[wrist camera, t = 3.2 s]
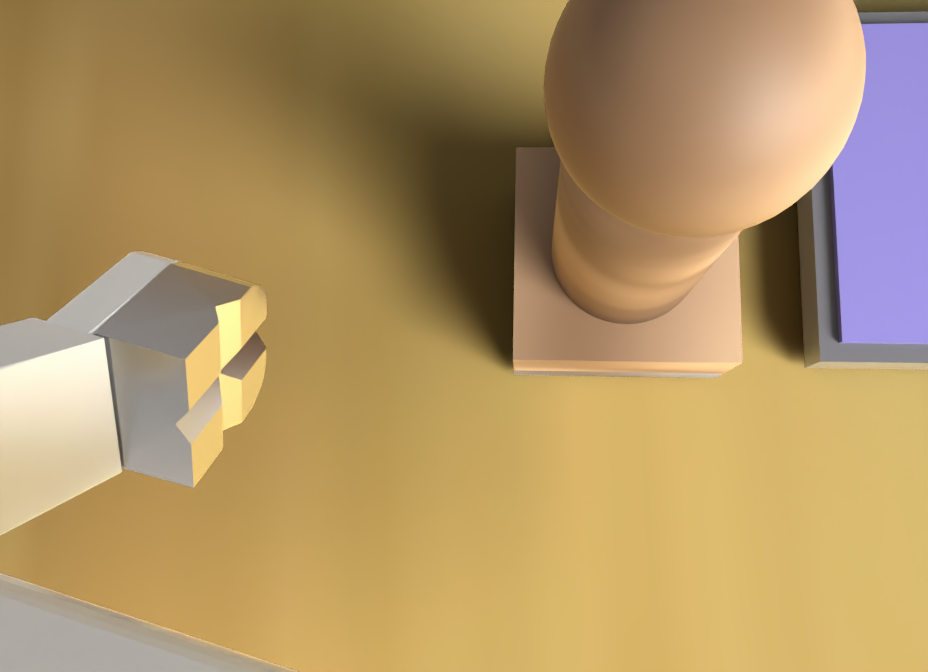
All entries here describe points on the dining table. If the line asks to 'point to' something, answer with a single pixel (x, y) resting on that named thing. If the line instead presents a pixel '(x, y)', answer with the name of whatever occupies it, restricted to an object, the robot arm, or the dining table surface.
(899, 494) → the dining table surface
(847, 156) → the ink pad
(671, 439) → the dining table surface
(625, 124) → the stamp
